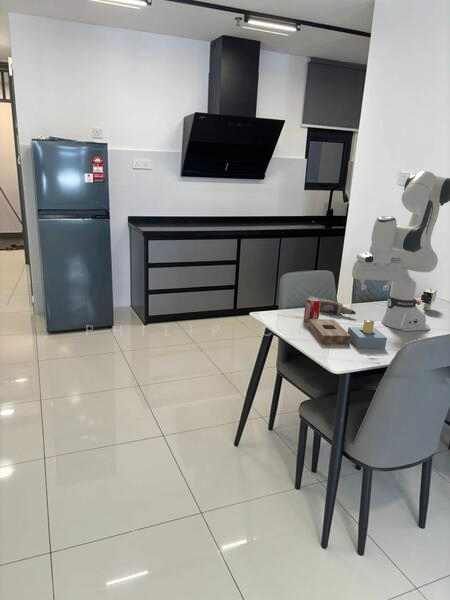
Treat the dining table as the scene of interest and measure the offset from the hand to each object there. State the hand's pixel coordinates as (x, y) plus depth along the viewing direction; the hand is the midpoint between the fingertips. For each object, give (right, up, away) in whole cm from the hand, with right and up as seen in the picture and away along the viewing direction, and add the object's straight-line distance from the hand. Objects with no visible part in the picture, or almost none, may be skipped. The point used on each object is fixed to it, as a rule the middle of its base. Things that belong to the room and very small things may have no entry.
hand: (374, 290), depth 182 cm
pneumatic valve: (+51, -10, +65) cm, 83 cm away
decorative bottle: (-8, -11, +48) cm, 50 cm away
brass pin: (-1, -23, +7) cm, 24 cm away
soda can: (-20, -15, +31) cm, 40 cm away
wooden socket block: (-16, -21, +13) cm, 29 cm away
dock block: (-2, -24, +7) cm, 25 cm away
